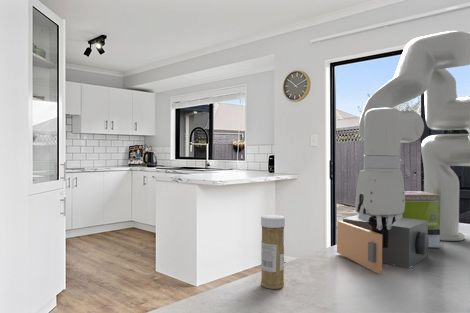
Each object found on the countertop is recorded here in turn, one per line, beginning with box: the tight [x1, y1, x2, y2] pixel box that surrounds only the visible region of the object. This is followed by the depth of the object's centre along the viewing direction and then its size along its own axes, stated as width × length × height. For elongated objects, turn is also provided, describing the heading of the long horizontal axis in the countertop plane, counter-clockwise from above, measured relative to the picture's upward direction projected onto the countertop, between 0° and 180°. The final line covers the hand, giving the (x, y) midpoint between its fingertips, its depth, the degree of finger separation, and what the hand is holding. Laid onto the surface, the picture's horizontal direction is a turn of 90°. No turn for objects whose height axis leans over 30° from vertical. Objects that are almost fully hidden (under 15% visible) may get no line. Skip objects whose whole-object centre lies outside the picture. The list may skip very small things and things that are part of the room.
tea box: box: [402, 190, 441, 249], centre depth 103 cm, size 15×10×15 cm
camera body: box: [342, 214, 429, 269], centre depth 91 cm, size 13×17×10 cm
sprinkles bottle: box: [260, 214, 286, 290], centre depth 70 cm, size 5×5×14 cm
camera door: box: [336, 220, 383, 274], centre depth 84 cm, size 2×16×8 cm, turn 15°
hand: (380, 246), depth 81 cm, fingers closed
